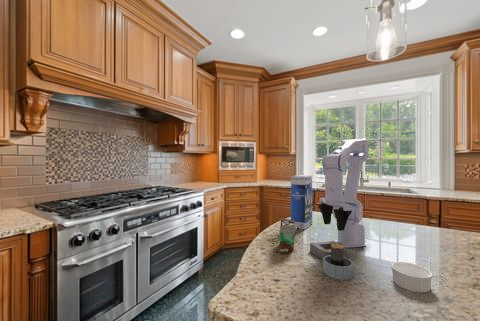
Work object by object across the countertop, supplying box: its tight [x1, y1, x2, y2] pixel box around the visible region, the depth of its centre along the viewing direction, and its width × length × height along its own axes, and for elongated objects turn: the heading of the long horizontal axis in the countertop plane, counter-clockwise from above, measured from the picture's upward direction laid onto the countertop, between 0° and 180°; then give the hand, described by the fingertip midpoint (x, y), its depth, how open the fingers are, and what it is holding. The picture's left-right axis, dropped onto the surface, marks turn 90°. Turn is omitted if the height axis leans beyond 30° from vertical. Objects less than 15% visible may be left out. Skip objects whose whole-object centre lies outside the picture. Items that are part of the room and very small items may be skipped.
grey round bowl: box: [322, 255, 355, 281], centre depth 68 cm, size 8×8×4 cm
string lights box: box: [290, 174, 313, 230], centre depth 117 cm, size 13×8×26 cm, turn 147°
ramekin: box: [390, 261, 433, 294], centre depth 61 cm, size 9×9×4 cm
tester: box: [309, 240, 349, 261], centre depth 80 cm, size 9×9×3 cm
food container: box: [279, 218, 298, 255], centre depth 86 cm, size 12×6×10 cm, turn 168°
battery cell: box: [331, 241, 345, 266], centre depth 68 cm, size 4×4×8 cm
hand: (333, 227), depth 81 cm, fingers open, 7 cm apart
